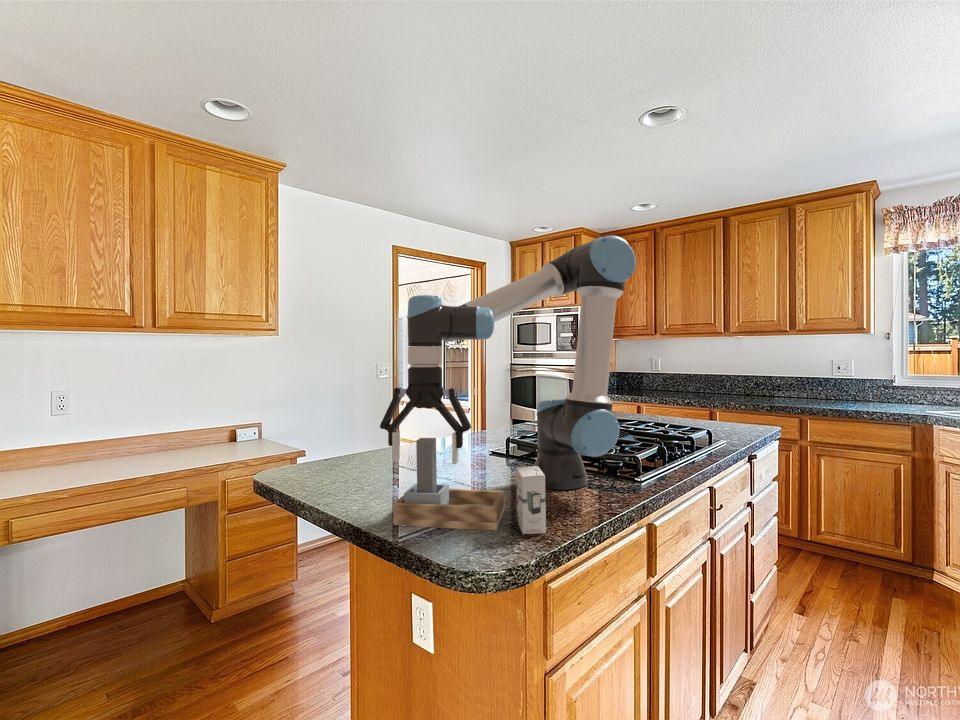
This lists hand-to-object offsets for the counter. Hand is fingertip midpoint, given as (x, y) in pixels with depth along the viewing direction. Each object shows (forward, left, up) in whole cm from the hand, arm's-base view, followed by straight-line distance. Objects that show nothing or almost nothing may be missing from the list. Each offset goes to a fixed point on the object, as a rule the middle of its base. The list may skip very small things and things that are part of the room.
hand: (425, 461), depth 111 cm
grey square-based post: (0, 0, -10) cm, 10 cm away
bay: (-6, 0, -12) cm, 14 cm away
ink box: (-23, +3, -13) cm, 27 cm away
